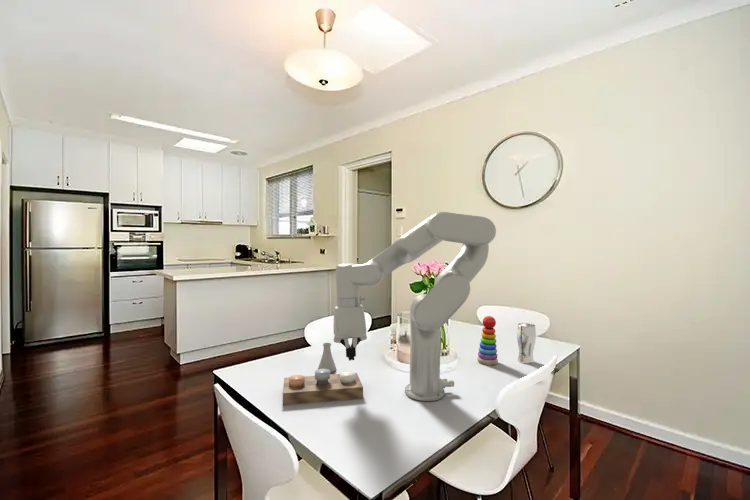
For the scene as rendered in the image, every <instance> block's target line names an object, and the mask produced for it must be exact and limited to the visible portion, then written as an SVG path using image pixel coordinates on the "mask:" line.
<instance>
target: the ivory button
mask: <svg viewBox="0 0 750 500" xmlns="http://www.w3.org/2000/svg"><path fill="white" fill-rule="evenodd" d="M355 373H356V372H353V371H343V372H340V373H339V374H340V382H342V383H352V382H354V381H355Z"/></svg>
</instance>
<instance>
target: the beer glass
mask: <svg viewBox="0 0 750 500" xmlns="http://www.w3.org/2000/svg"><path fill="white" fill-rule="evenodd" d="M516 335H517V336H516V338H517V347H518V357H517V362H519V363H520V364H526V365H531V364H534V363H535V360H534V350H535V345H536V339H537V337H536V335H537V331H536V325H535V324H534V323H528V322H520V323H517V331H516Z"/></svg>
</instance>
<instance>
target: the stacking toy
mask: <svg viewBox="0 0 750 500" xmlns="http://www.w3.org/2000/svg"><path fill="white" fill-rule="evenodd" d="M496 324H497V322H496V319H495V318H494V316H491V315H487V316H484V318H483V320H482V325H483V326H484V327H482V329H481V330H482V332H481V338H480V342H479V347H478V353H477V358H476V359H477V362H478V363H480V364H482V365H486V366H493V365H497V364H498V362H499V361H498V353H497V352H498V350H497V344H496V343H497V339H496V336H497V335H496V334H495V333H496V329H495V326H496Z"/></svg>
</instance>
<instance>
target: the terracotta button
mask: <svg viewBox="0 0 750 500" xmlns="http://www.w3.org/2000/svg"><path fill="white" fill-rule="evenodd" d="M304 376H305V375H302V374H294V375H291V376H288V378H289V386H291V387H301V386H303V385H304V384H305V377H304Z"/></svg>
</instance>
